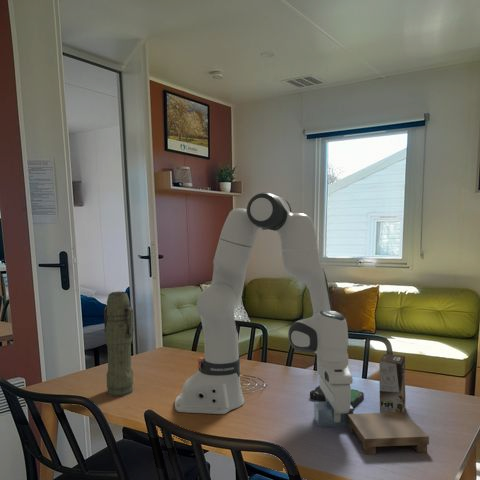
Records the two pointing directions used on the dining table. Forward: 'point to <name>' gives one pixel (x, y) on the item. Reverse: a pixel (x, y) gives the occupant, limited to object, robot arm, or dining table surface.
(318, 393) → the disk drive
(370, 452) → the stand
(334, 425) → the block
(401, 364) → the coffee box
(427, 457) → the dining table surface
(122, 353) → the thermos
